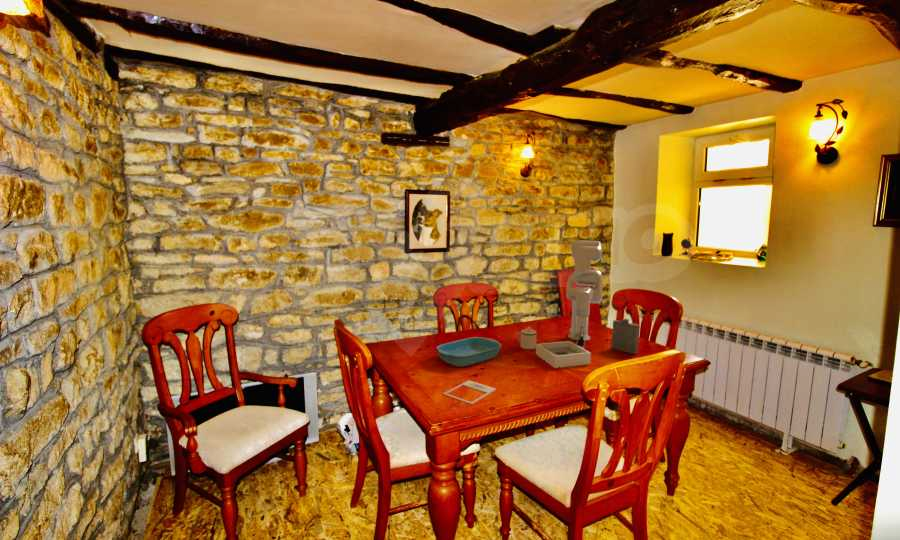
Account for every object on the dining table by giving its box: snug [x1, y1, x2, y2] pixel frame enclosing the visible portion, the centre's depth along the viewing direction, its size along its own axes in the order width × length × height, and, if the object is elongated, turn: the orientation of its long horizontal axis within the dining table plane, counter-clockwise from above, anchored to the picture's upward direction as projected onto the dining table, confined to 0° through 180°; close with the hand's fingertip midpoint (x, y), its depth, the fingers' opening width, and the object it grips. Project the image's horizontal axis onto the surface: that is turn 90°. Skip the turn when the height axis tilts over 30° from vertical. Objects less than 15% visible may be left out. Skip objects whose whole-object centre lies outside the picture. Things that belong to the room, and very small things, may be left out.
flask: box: [611, 318, 640, 355], centre depth 237 cm, size 4×14×18 cm, turn 43°
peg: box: [576, 333, 586, 349], centre depth 238 cm, size 4×4×10 cm
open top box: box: [535, 340, 592, 369], centre depth 225 cm, size 20×20×6 cm
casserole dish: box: [436, 336, 502, 368], centre depth 226 cm, size 37×22×7 cm, turn 130°
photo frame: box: [443, 379, 497, 405], centre depth 185 cm, size 15×1×18 cm
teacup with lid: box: [516, 326, 538, 350], centre depth 244 cm, size 12×9×12 cm
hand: (580, 344), depth 239 cm, fingers closed on peg, 4 cm apart
